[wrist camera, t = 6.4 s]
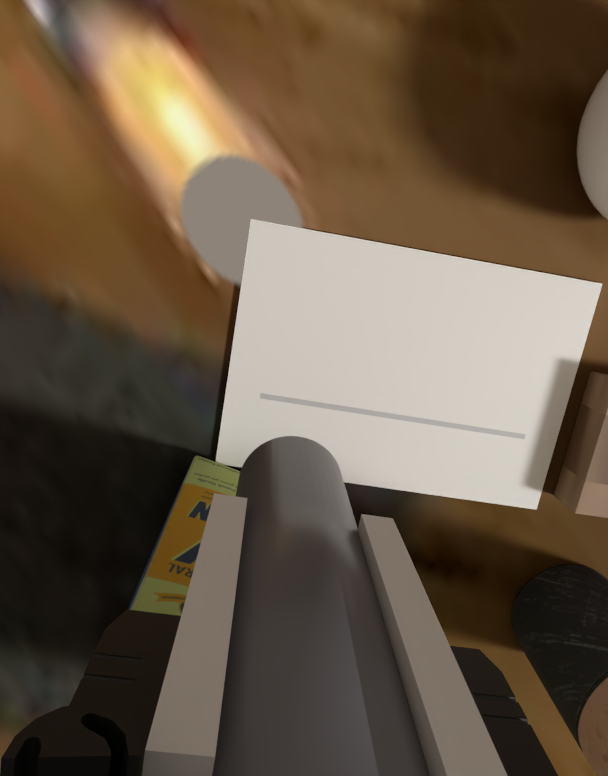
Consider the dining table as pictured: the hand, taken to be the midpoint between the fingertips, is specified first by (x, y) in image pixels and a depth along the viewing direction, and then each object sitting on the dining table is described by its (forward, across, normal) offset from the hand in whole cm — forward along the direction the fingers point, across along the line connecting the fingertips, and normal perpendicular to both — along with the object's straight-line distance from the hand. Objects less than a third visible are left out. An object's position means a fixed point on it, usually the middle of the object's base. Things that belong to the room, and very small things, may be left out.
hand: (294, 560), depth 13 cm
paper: (+19, +7, +1) cm, 20 cm away
